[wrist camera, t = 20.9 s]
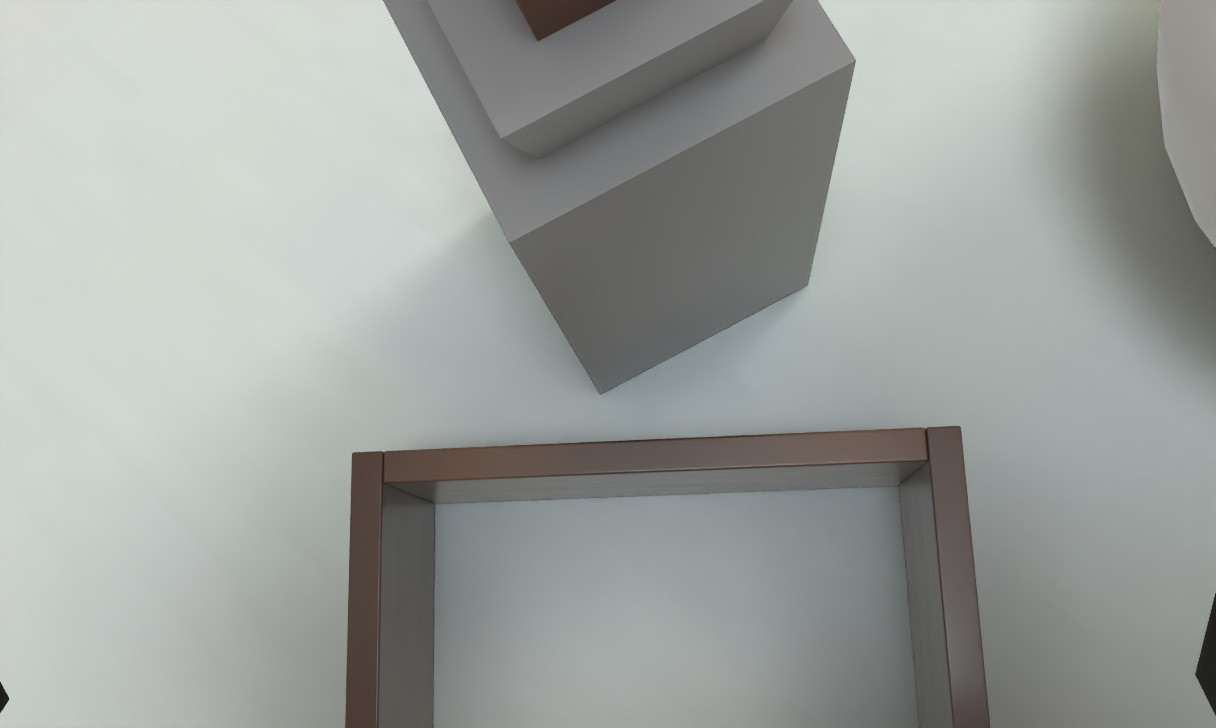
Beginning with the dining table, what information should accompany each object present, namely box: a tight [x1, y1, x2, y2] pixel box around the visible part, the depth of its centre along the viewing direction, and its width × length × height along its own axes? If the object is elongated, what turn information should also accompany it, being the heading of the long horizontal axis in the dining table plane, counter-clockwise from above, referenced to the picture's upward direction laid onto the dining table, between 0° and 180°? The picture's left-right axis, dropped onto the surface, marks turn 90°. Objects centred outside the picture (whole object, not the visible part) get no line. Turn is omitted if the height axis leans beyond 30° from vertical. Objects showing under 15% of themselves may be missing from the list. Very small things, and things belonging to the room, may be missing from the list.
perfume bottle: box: [383, 0, 856, 394], centre depth 25 cm, size 7×7×18 cm
